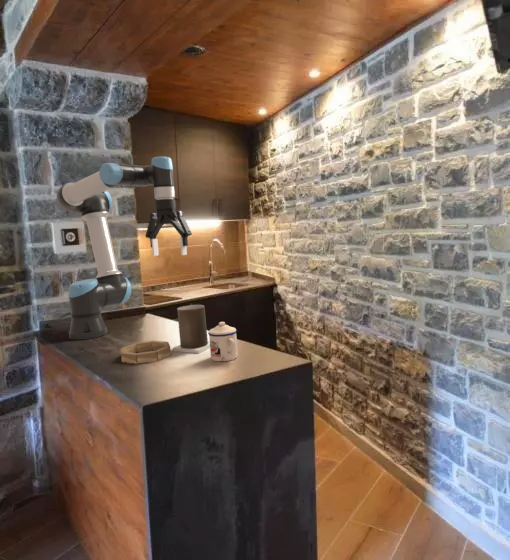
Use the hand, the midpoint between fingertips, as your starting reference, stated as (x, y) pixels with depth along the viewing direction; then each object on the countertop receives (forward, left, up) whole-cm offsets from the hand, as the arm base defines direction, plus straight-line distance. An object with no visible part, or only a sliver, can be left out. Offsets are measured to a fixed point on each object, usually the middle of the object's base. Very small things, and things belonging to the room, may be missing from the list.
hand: (169, 255), depth 166 cm
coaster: (+16, -10, -32) cm, 38 cm away
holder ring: (+5, -23, -32) cm, 40 cm away
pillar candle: (+16, -10, -32) cm, 37 cm away
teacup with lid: (+34, -18, -33) cm, 50 cm away
